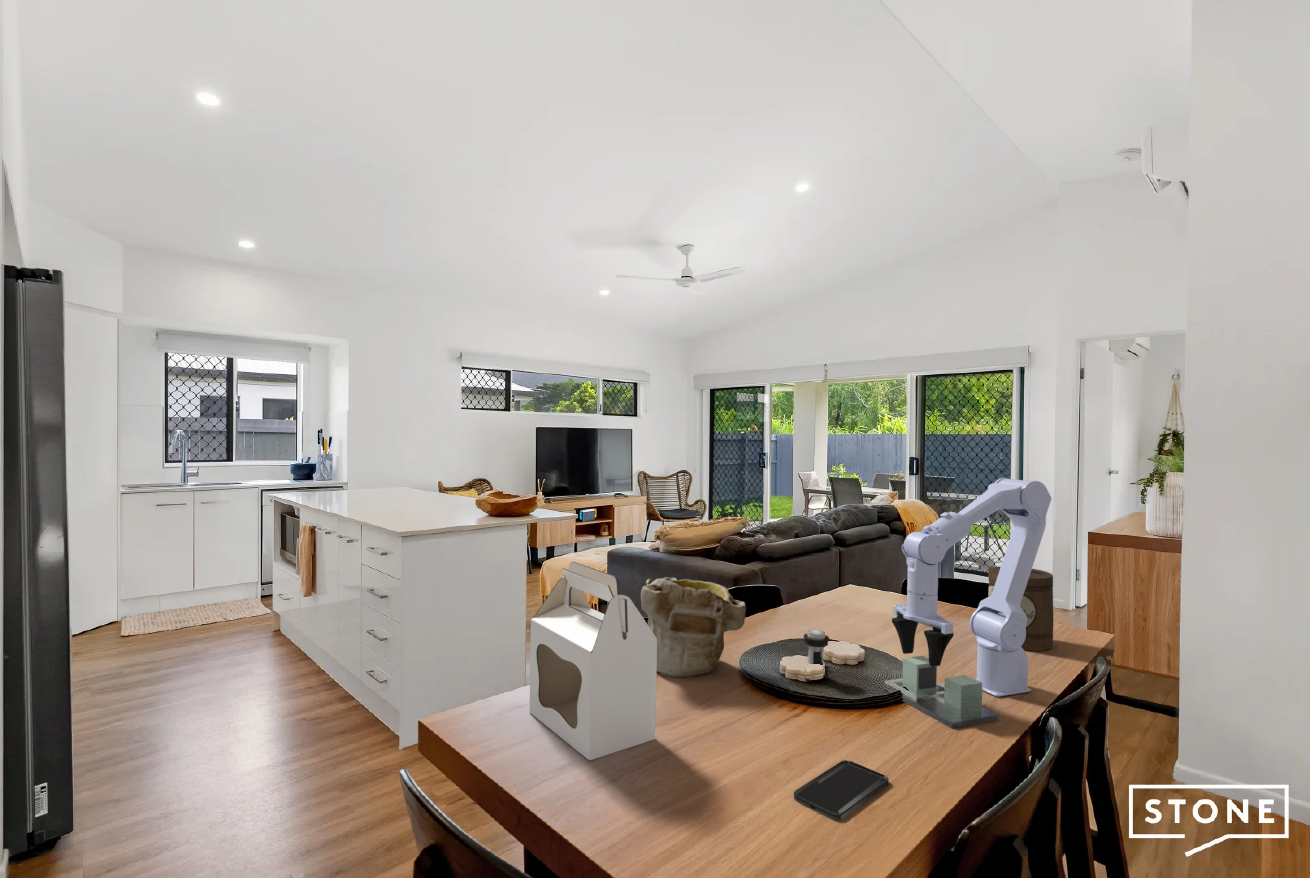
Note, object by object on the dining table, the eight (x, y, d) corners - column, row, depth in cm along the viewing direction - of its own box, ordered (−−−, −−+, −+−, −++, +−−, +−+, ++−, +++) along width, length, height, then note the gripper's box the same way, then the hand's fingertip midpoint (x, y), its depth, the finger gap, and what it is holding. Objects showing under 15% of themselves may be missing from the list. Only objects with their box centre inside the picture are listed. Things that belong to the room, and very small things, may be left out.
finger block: (902, 687, 134) (903, 658, 134) (921, 684, 136) (922, 655, 136) (917, 695, 130) (918, 665, 130) (937, 692, 132) (938, 662, 132)
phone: (891, 778, 99) (838, 816, 89) (891, 785, 99) (838, 825, 89) (844, 758, 105) (789, 792, 94) (844, 765, 105) (789, 800, 94)
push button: (810, 686, 137) (811, 638, 136) (792, 677, 141) (793, 631, 141) (833, 680, 140) (834, 633, 140) (816, 672, 144) (817, 627, 144)
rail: (878, 687, 137) (878, 653, 136) (920, 681, 140) (921, 648, 140) (951, 728, 118) (952, 689, 118) (998, 720, 122) (999, 682, 121)
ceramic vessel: (740, 610, 163) (747, 543, 147) (742, 703, 144) (749, 637, 128) (649, 605, 165) (646, 538, 149) (639, 695, 146) (634, 629, 130)
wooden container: (974, 637, 172) (976, 553, 172) (1012, 630, 179) (1014, 550, 178) (1026, 654, 159) (1029, 564, 159) (1066, 647, 165) (1068, 560, 165)
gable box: (528, 712, 121) (530, 561, 121) (589, 696, 129) (592, 554, 129) (589, 762, 104) (592, 585, 103) (656, 740, 111) (660, 576, 111)
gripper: (882, 585, 138) (880, 649, 138) (933, 602, 124) (931, 674, 125) (909, 583, 140) (907, 646, 141) (962, 600, 127) (960, 669, 127)
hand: (921, 659), depth 133 cm, fingers open, 7 cm apart
